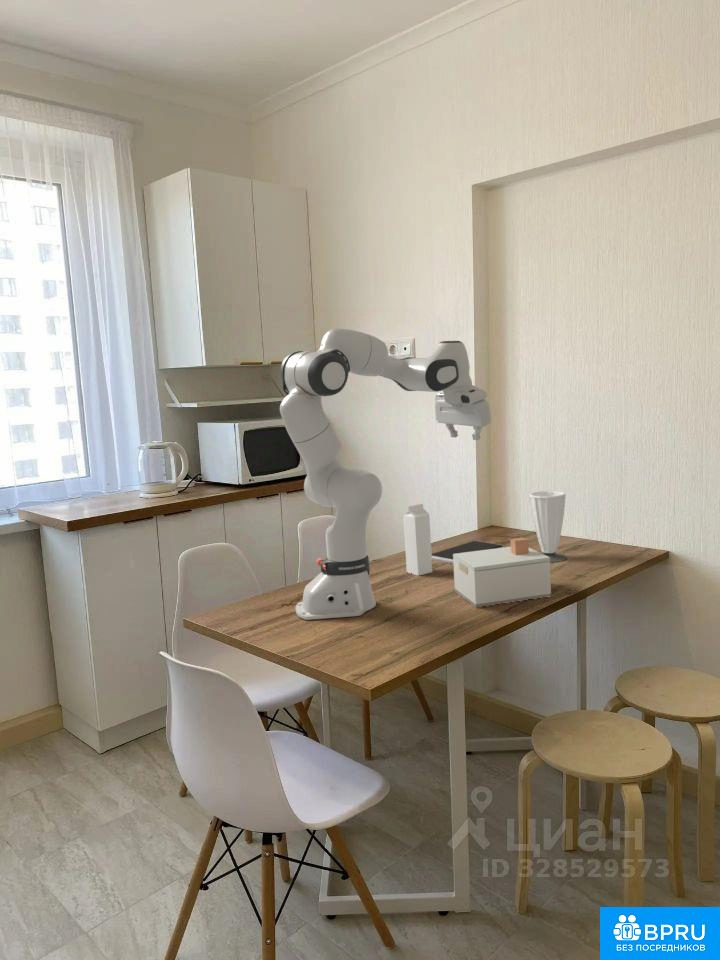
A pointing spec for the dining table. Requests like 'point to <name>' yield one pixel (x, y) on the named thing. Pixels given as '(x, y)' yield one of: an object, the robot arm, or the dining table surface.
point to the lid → (502, 556)
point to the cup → (548, 521)
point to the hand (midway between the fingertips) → (465, 438)
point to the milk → (417, 540)
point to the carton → (502, 583)
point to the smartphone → (463, 550)
